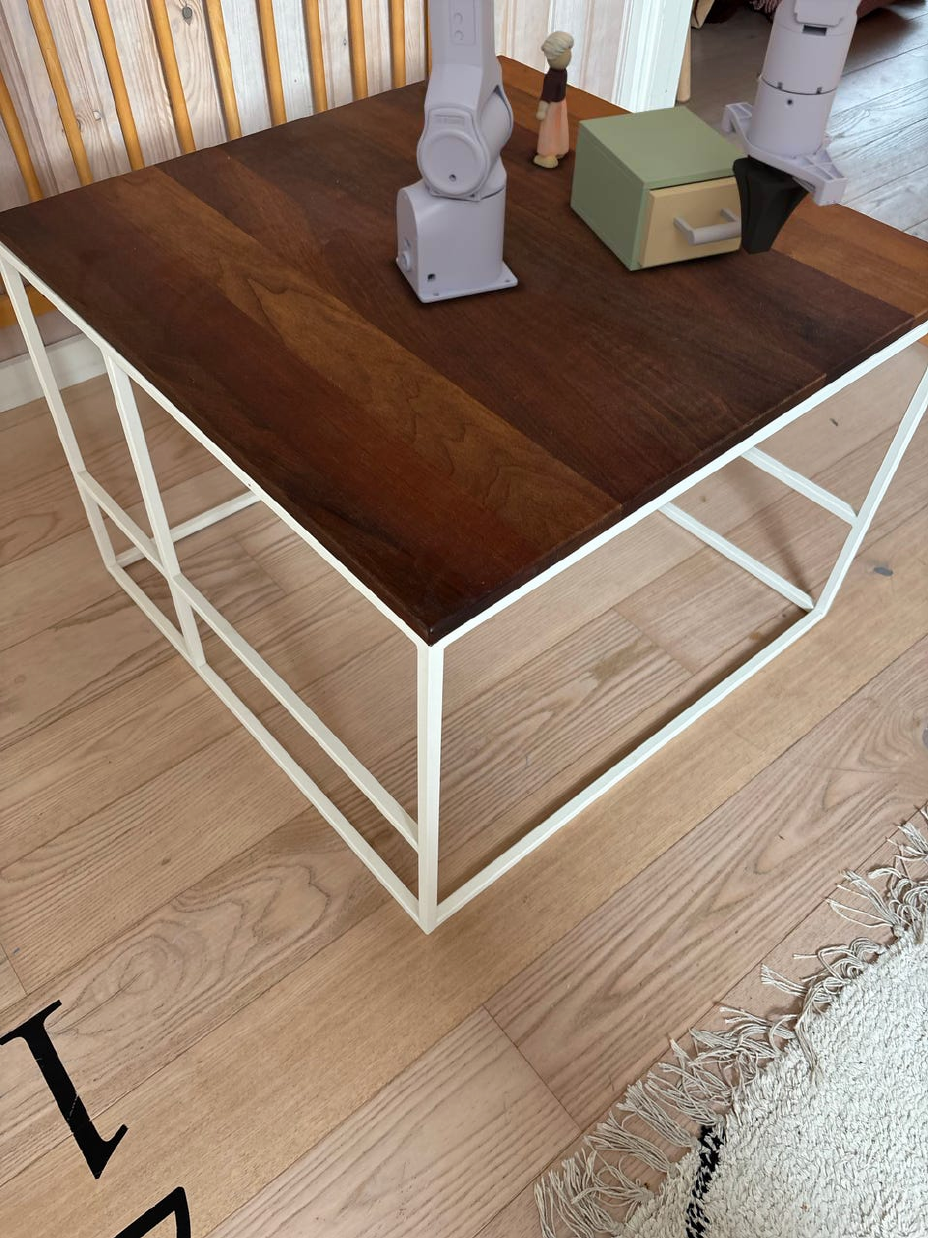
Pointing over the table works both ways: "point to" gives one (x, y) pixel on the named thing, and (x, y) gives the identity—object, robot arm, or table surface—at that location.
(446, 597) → the table surface
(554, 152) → the grandmother figurine
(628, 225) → the cabinet
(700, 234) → the drawer
